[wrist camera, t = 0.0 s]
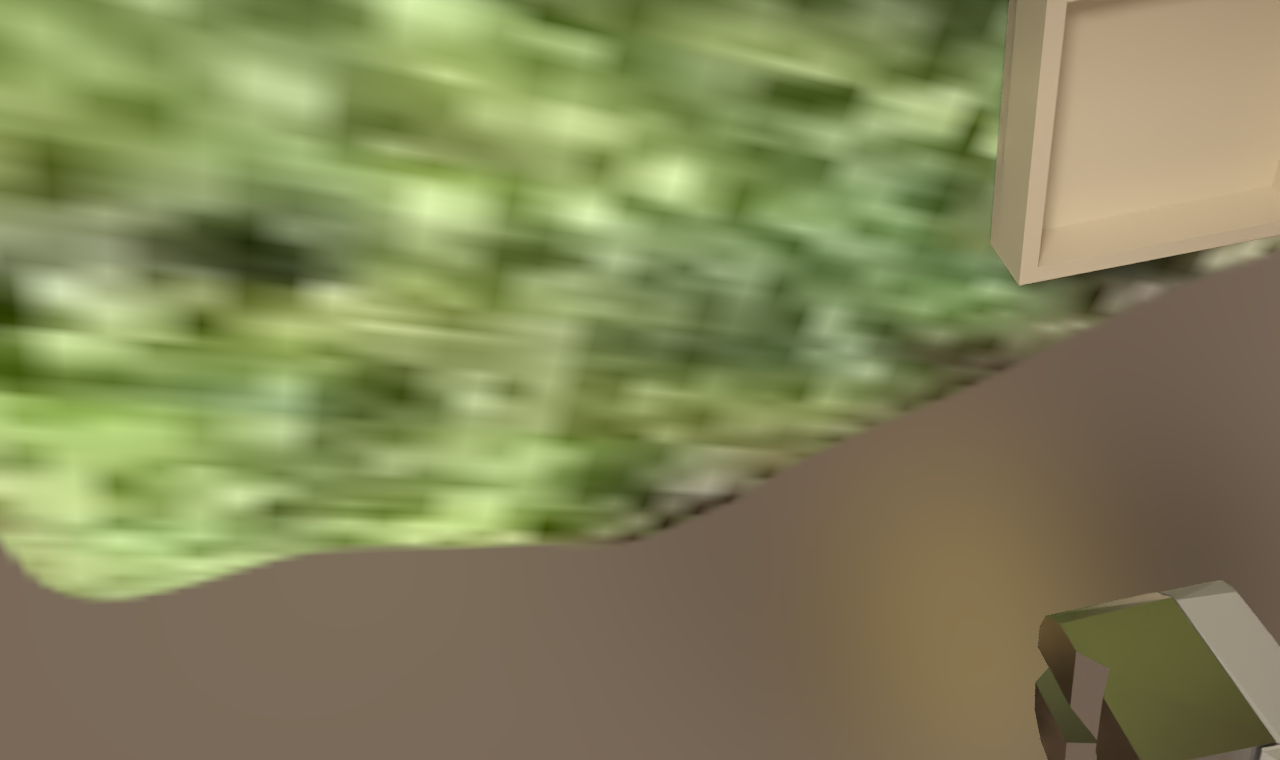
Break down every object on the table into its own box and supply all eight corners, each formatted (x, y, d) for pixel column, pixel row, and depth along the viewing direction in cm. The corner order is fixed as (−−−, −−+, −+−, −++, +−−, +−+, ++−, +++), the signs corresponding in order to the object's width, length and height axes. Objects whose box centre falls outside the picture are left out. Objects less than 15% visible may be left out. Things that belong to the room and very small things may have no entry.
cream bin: (1012, -48, 47) (1048, -15, 45) (1351, -111, 48) (1407, -81, 45) (989, 243, 56) (1018, 285, 54) (1275, 188, 57) (1318, 227, 54)
